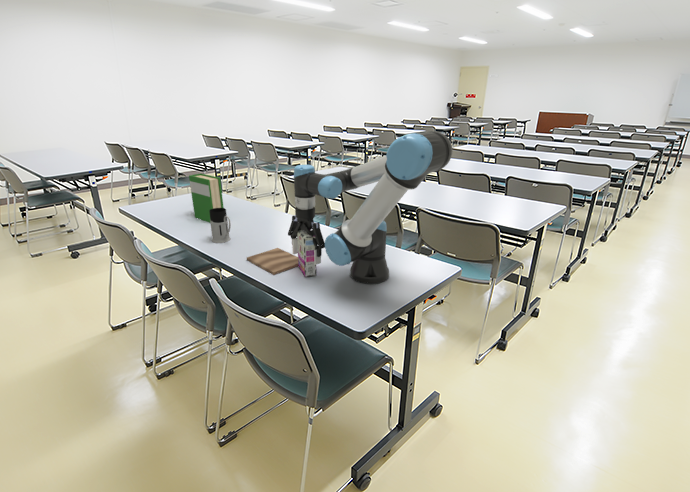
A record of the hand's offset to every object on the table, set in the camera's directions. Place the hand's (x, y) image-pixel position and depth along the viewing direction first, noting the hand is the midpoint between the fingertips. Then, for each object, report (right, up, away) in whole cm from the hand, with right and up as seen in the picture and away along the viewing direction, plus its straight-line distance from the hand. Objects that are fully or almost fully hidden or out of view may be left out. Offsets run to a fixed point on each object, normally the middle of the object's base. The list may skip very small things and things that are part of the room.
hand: (306, 258), depth 154 cm
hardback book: (-60, +20, +64) cm, 90 cm away
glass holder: (-43, +7, +32) cm, 54 cm away
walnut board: (-14, -2, +10) cm, 17 cm away
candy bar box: (0, -5, +2) cm, 6 cm away
